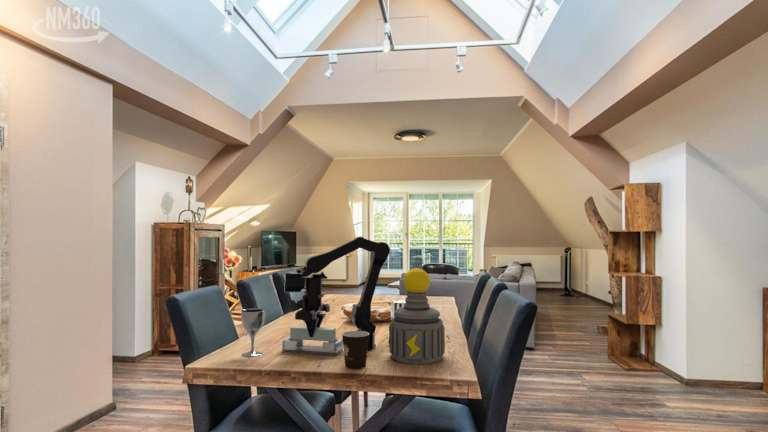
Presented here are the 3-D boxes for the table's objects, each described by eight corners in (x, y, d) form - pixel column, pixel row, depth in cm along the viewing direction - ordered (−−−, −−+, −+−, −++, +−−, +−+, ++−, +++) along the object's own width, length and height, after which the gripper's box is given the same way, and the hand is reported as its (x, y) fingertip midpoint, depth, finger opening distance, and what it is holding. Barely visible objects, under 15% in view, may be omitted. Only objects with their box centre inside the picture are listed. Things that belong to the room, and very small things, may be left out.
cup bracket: (342, 350, 151) (342, 339, 151) (336, 355, 144) (336, 343, 144) (290, 347, 155) (290, 336, 155) (282, 352, 148) (282, 340, 148)
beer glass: (408, 341, 164) (408, 303, 165) (390, 341, 164) (390, 302, 165) (407, 337, 171) (407, 300, 171) (390, 337, 171) (390, 300, 172)
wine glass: (269, 352, 147) (269, 309, 148) (253, 358, 140) (254, 312, 141) (251, 349, 151) (252, 307, 152) (235, 355, 144) (236, 311, 144)
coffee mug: (370, 369, 129) (371, 336, 129) (342, 370, 127) (343, 337, 128) (366, 358, 140) (366, 328, 141) (340, 360, 139) (340, 329, 139)
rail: (335, 339, 149) (335, 328, 149) (332, 341, 146) (332, 329, 147) (293, 337, 153) (294, 325, 153) (290, 338, 150) (290, 327, 150)
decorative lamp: (443, 367, 132) (443, 270, 133) (384, 363, 135) (384, 269, 137) (445, 351, 150) (445, 266, 152) (393, 348, 154) (393, 266, 155)
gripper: (302, 288, 161) (302, 329, 161) (281, 294, 143) (280, 340, 142) (330, 288, 159) (330, 330, 158) (311, 295, 141) (311, 342, 140)
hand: (313, 335), depth 150 cm, fingers closed on rail, 3 cm apart
